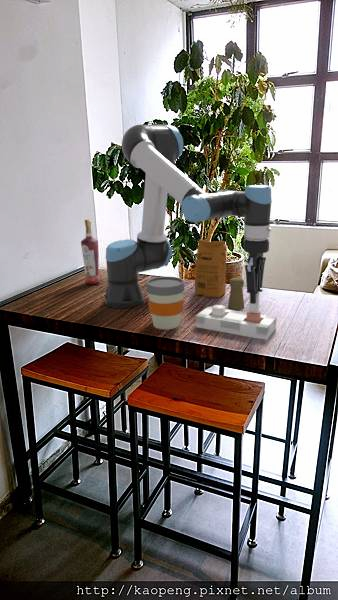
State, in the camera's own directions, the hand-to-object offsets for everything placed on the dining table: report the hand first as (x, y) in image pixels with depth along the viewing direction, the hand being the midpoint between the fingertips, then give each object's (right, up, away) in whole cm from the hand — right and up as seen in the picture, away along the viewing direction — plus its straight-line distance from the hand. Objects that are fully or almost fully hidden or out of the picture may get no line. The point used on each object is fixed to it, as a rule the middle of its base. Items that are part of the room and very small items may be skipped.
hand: (253, 311), depth 143 cm
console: (-5, -5, +5) cm, 9 cm away
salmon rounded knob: (0, -4, +2) cm, 5 cm away
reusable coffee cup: (-28, -5, +9) cm, 30 cm away
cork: (-2, +1, +24) cm, 24 cm away
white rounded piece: (-10, -3, +7) cm, 13 cm away
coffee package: (-10, +6, +39) cm, 41 cm away
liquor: (-61, +11, +57) cm, 84 cm away
